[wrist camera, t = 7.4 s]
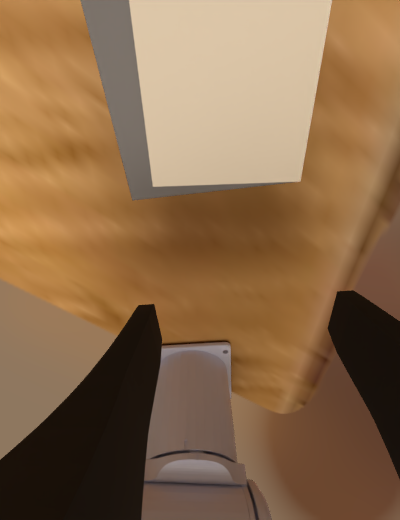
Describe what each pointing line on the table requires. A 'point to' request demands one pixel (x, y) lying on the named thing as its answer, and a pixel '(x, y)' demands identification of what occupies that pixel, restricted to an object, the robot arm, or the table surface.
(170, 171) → the cream cube
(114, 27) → the charcoal base
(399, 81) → the table surface
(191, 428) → the robot arm
